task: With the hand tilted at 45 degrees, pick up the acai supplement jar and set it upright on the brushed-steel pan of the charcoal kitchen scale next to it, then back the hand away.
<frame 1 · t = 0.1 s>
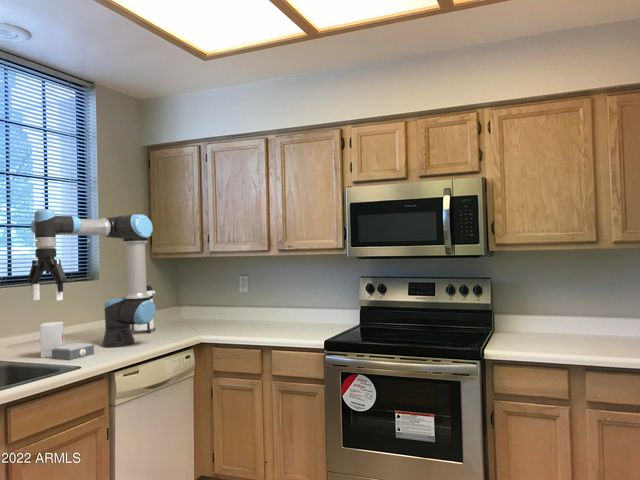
hand: (47, 300, 210), 28 cm above the countertop, tool pointing down, fingers open, 13 cm apart
coffee press: (140, 333, 295), on the countertop
kitchen scale: (73, 356, 233), on the countertop
supplement box: (53, 356, 237), on the countertop
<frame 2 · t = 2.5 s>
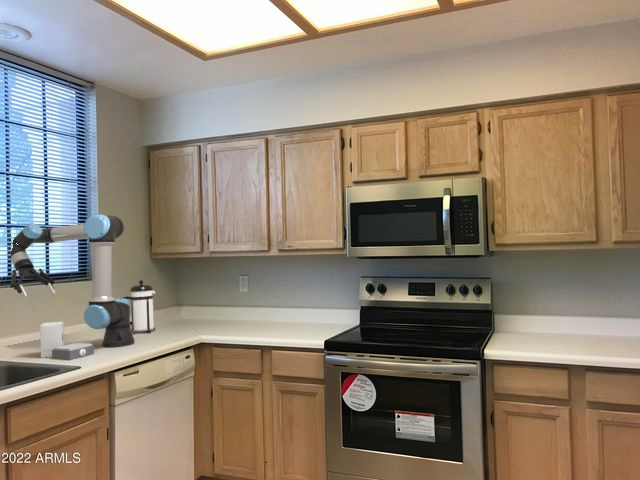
hand: (39, 296, 242), 27 cm above the countertop, tool tilted 40°, fingers open, 13 cm apart
nothing on the countertop moved.
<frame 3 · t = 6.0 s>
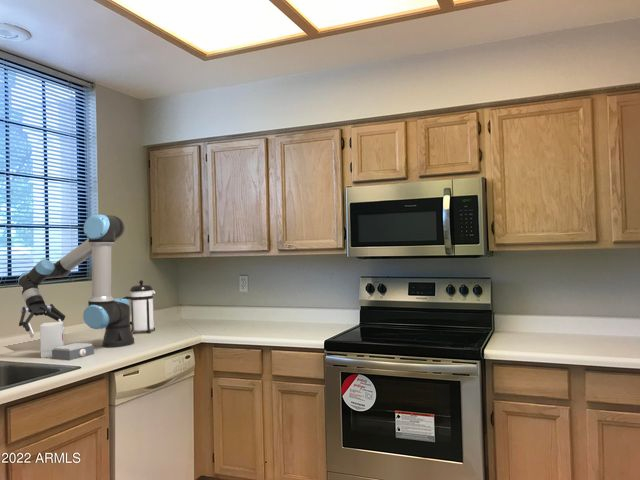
hand: (48, 333, 239), 10 cm above the countertop, tool tilted 45°, fingers open, 13 cm apart
supplement box: (53, 356, 237), on the countertop, touching gripper
everything else where it was.
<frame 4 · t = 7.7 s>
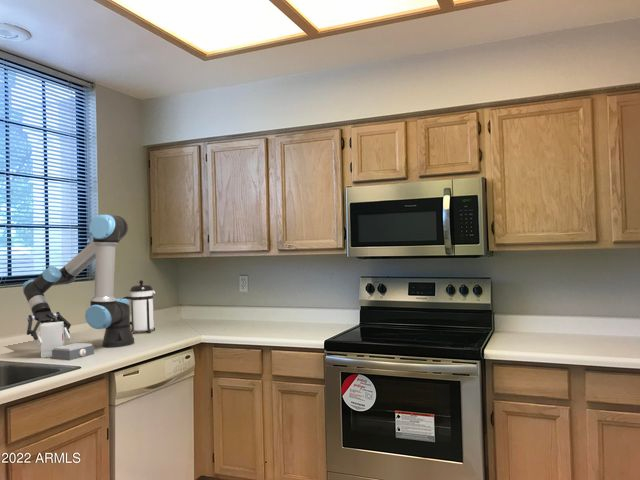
hand: (55, 342, 236), 6 cm above the countertop, tool tilted 45°, fingers closed on supplement box, 12 cm apart
supplement box: (53, 355, 237), on the countertop, touching gripper
everything else where it was.
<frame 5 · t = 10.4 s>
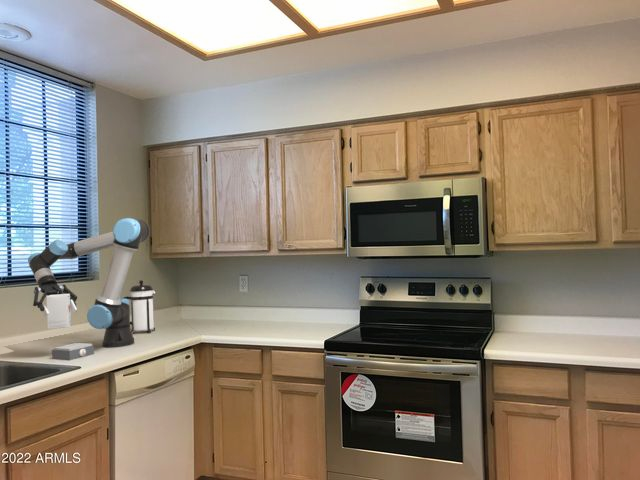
hand: (61, 313, 234), 20 cm above the countertop, tool tilted 45°, fingers closed on supplement box, 12 cm apart
supplement box: (60, 327, 236), point 13 cm above the countertop, touching gripper
everything else where it was.
when the fingers open (13 cm above the countertop, at t = 13.2 s): supplement box drops 1 cm, resting on kitchen scale.
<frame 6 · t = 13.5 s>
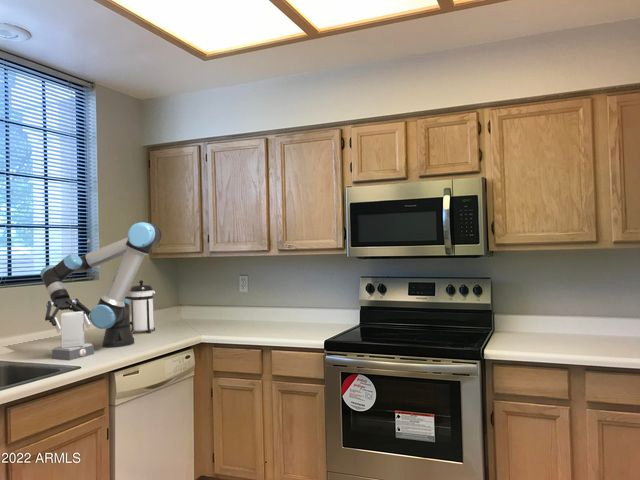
hand: (74, 328, 232), 13 cm above the countertop, tool tilted 45°, fingers open, 12 cm apart
supplement box: (73, 346, 234), point 5 cm above the countertop, touching gripper, kitchen scale
everything else where it was.
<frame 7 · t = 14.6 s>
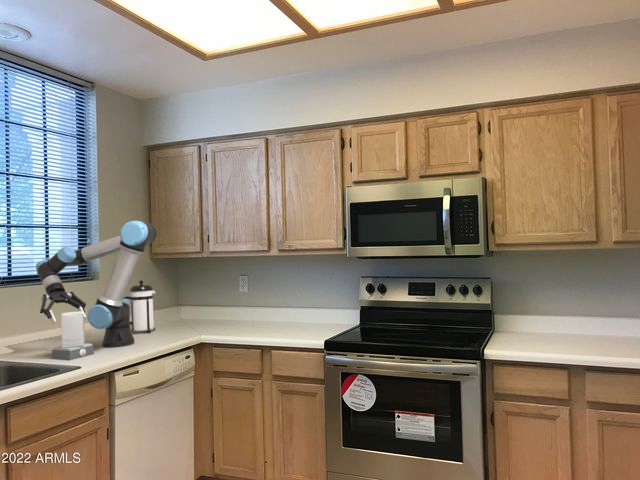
hand: (69, 320, 234), 16 cm above the countertop, tool tilted 45°, fingers open, 13 cm apart
nothing on the countertop moved.
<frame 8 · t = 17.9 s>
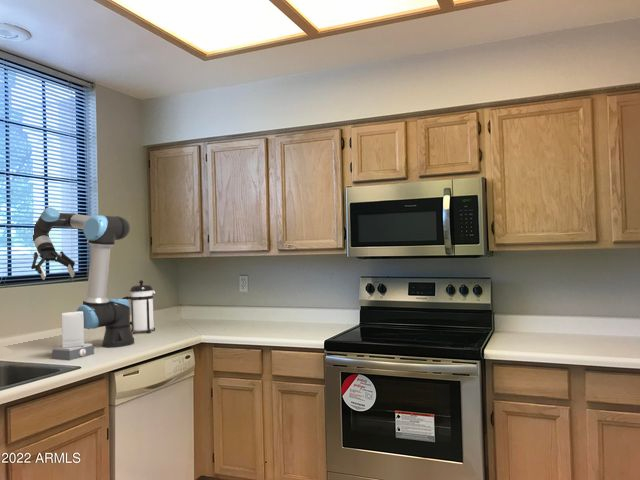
hand: (59, 276, 250), 36 cm above the countertop, tool tilted 45°, fingers open, 13 cm apart
supplement box: (73, 346, 234), point 5 cm above the countertop, touching kitchen scale
everything else where it was.
at the end: supplement box inside the target area on the kitchen scale (0.5 cm from its centre), point 4.6 cm above the kitchen scale's base; supplement box tilted 0°; the gripper is holding nothing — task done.
